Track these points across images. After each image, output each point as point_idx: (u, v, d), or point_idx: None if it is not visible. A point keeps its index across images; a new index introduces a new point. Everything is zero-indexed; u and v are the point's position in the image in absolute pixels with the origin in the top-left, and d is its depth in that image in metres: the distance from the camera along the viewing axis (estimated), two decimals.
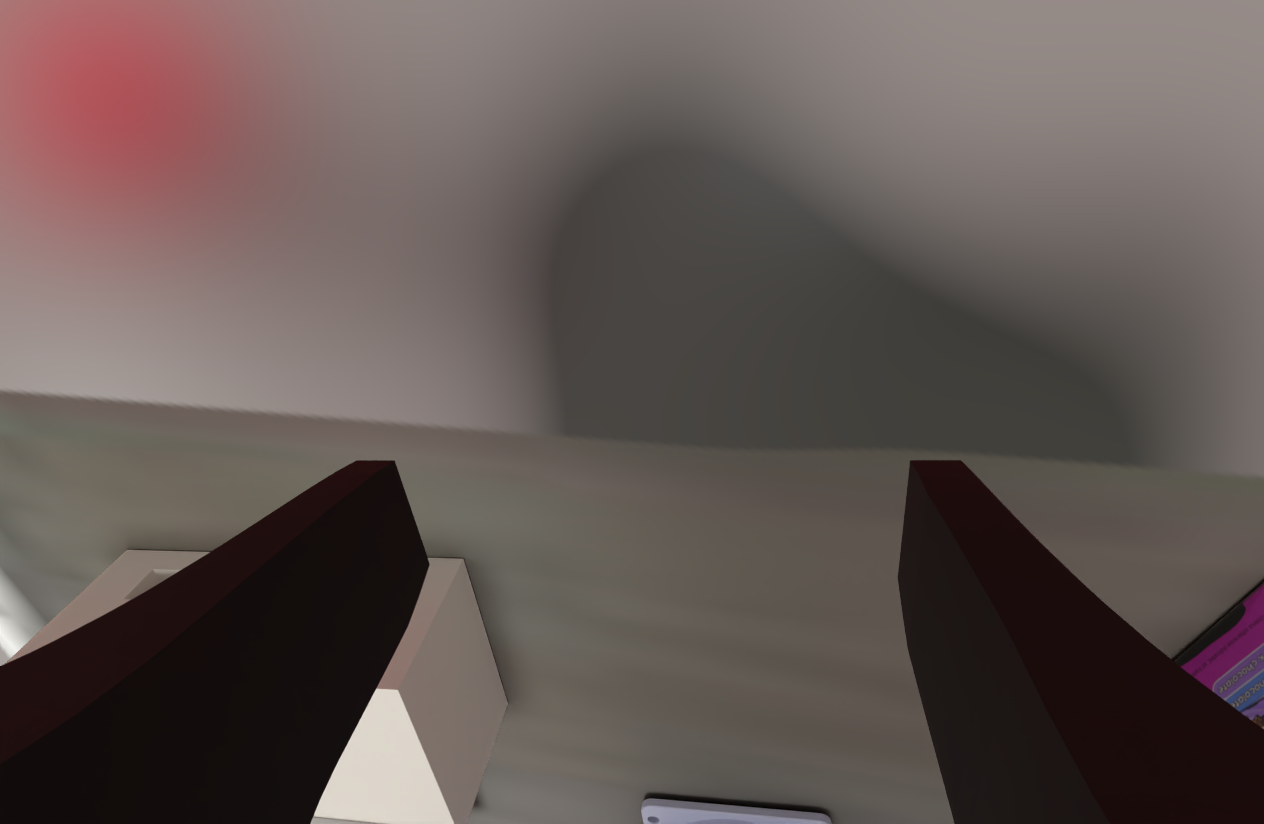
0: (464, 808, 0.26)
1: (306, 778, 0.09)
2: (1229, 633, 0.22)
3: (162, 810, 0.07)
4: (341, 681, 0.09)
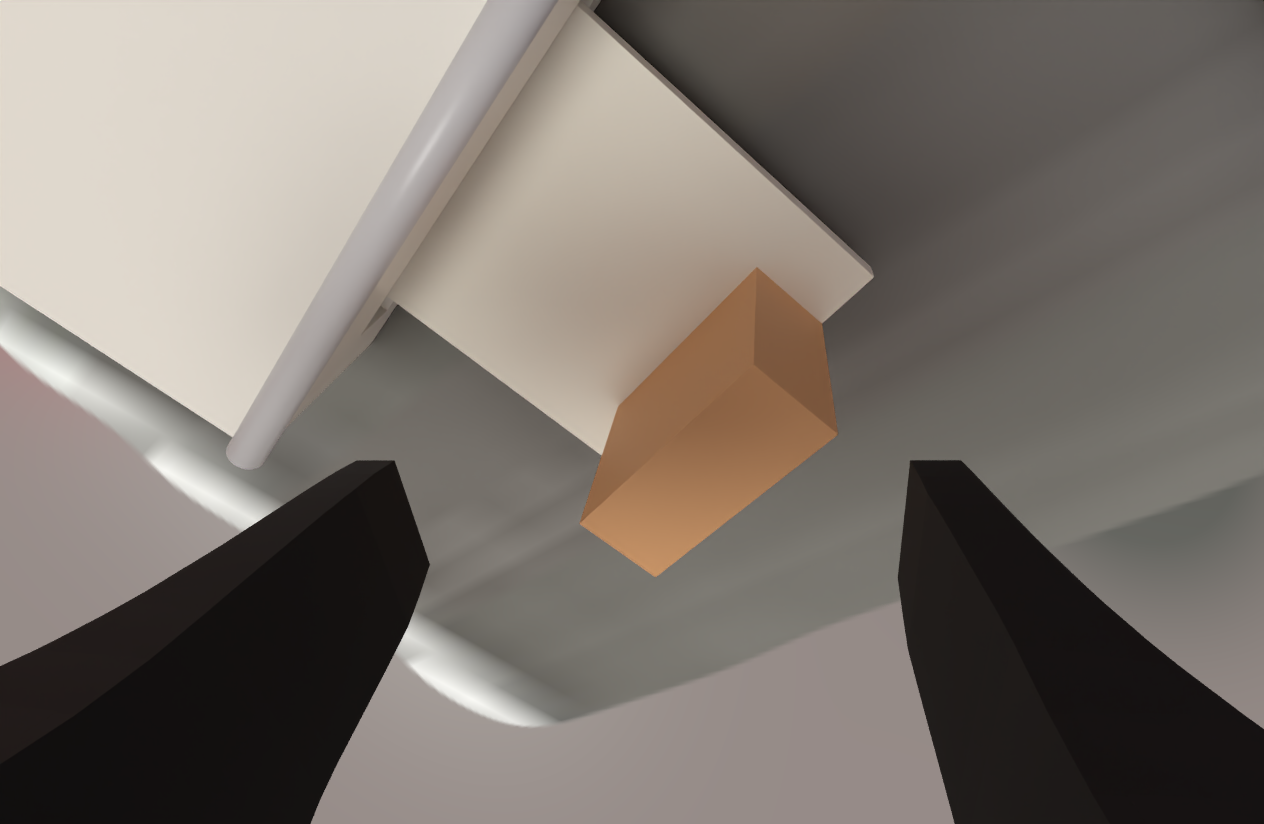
0: None
1: (306, 778, 0.09)
2: None
3: (162, 810, 0.07)
4: (341, 681, 0.09)
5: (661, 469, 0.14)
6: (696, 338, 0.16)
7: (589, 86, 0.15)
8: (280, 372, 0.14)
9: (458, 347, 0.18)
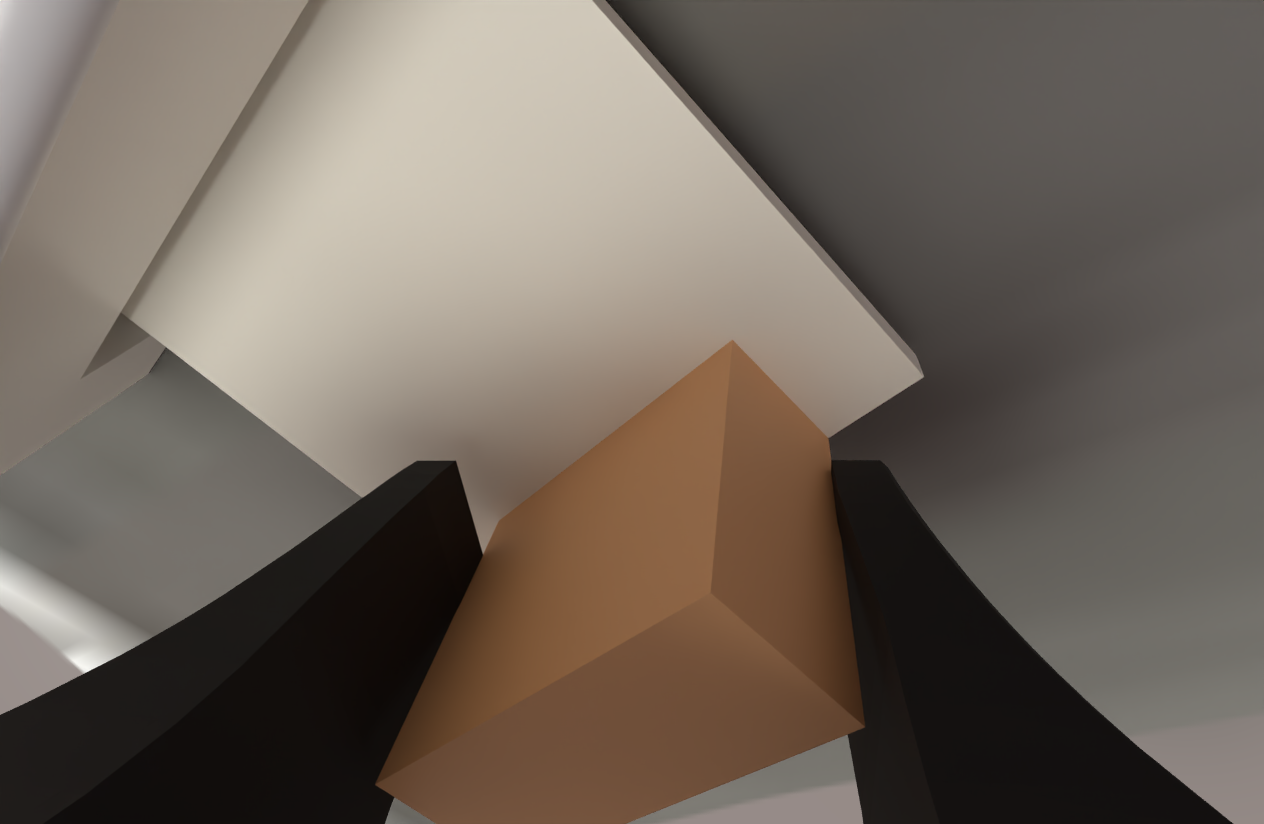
0: None
1: None
2: None
3: (253, 819, 0.07)
4: (409, 685, 0.09)
5: (519, 731, 0.07)
6: (622, 446, 0.10)
7: None
8: None
9: (249, 408, 0.11)
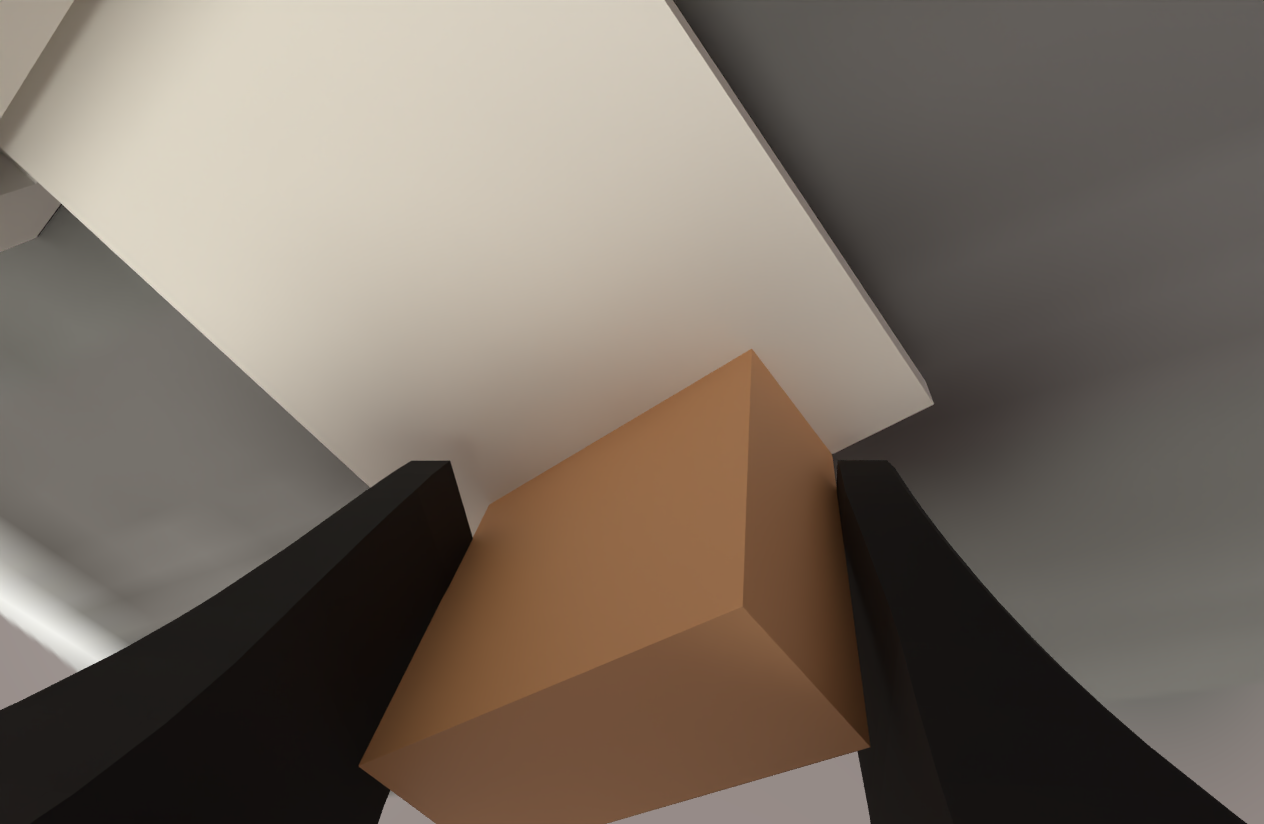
0: None
1: (372, 783, 0.09)
2: None
3: (245, 819, 0.07)
4: None
5: (519, 724, 0.07)
6: (630, 443, 0.10)
7: None
8: None
9: (241, 366, 0.11)
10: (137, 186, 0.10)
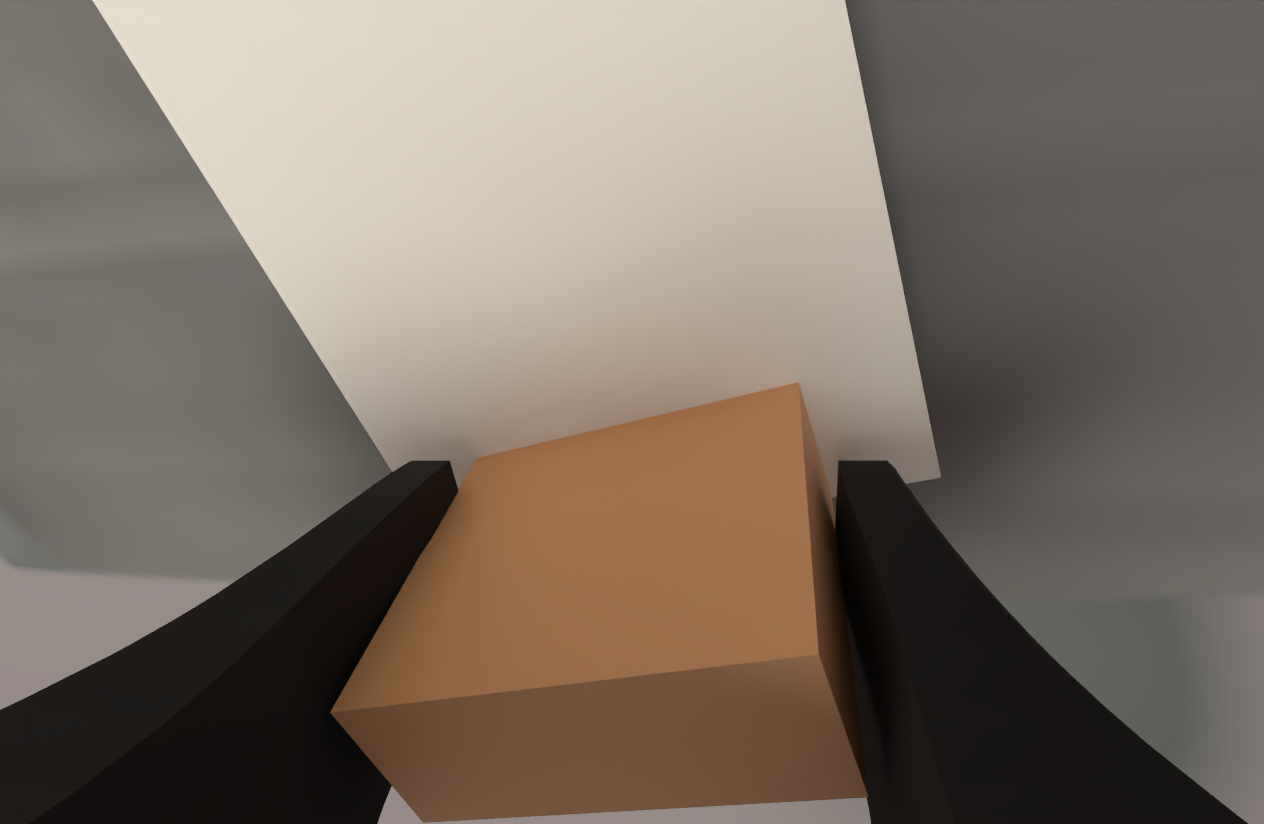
0: None
1: (371, 783, 0.09)
2: None
3: (244, 819, 0.07)
4: None
5: (532, 710, 0.07)
6: (658, 442, 0.10)
7: None
8: None
9: (251, 245, 0.10)
10: (201, 18, 0.08)
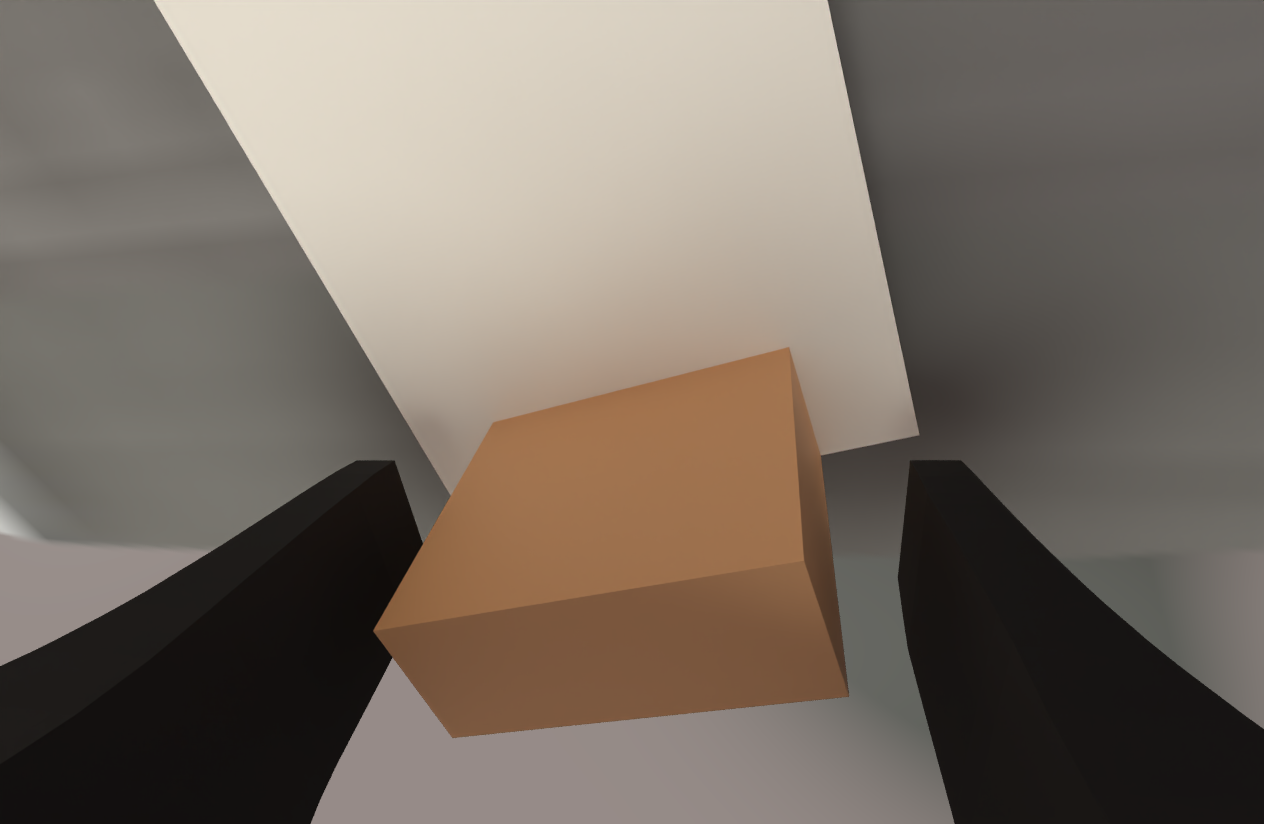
0: None
1: (305, 778, 0.09)
2: None
3: (162, 810, 0.07)
4: (341, 681, 0.09)
5: (554, 623, 0.08)
6: (661, 401, 0.11)
7: None
8: None
9: (291, 223, 0.11)
10: (251, 17, 0.09)
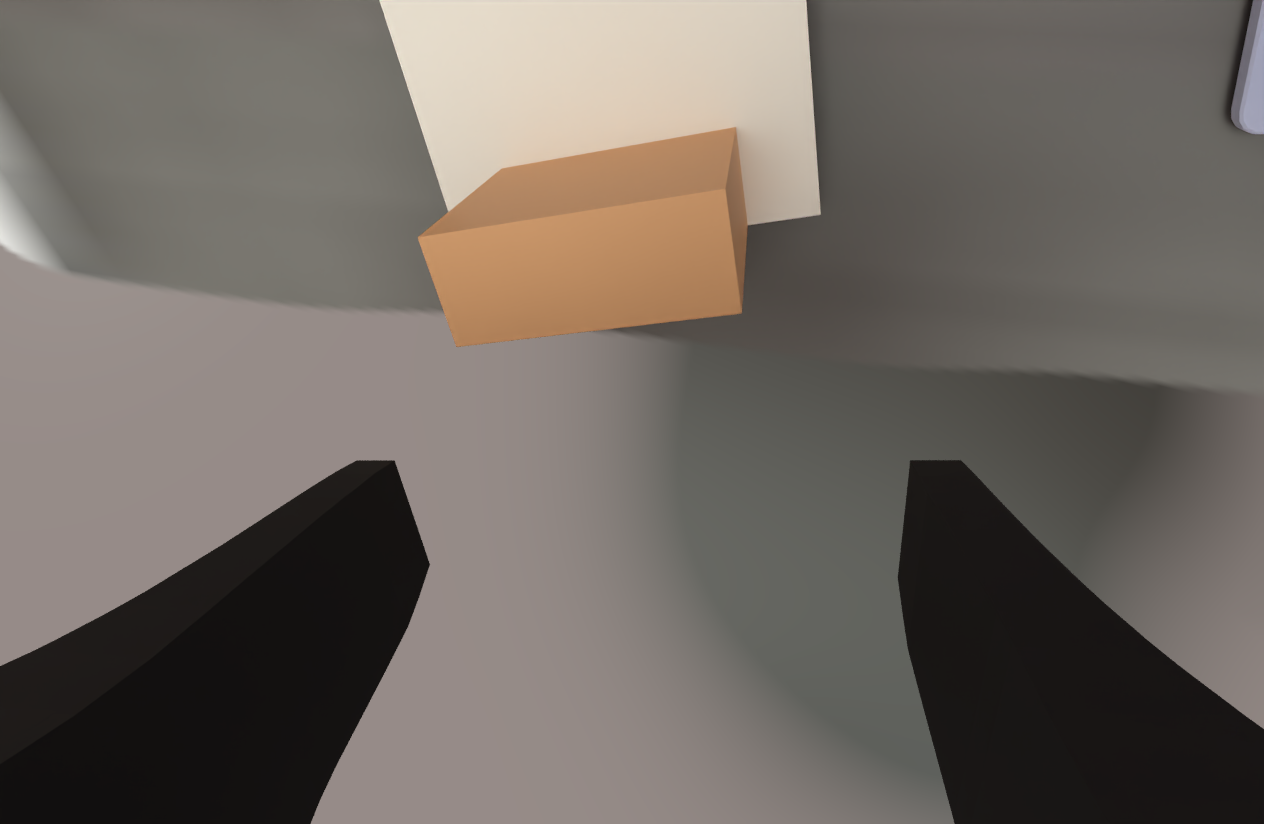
0: None
1: (307, 777, 0.09)
2: None
3: (162, 810, 0.07)
4: (341, 681, 0.09)
5: (551, 235, 0.11)
6: (637, 151, 0.14)
7: None
8: None
9: None
10: None
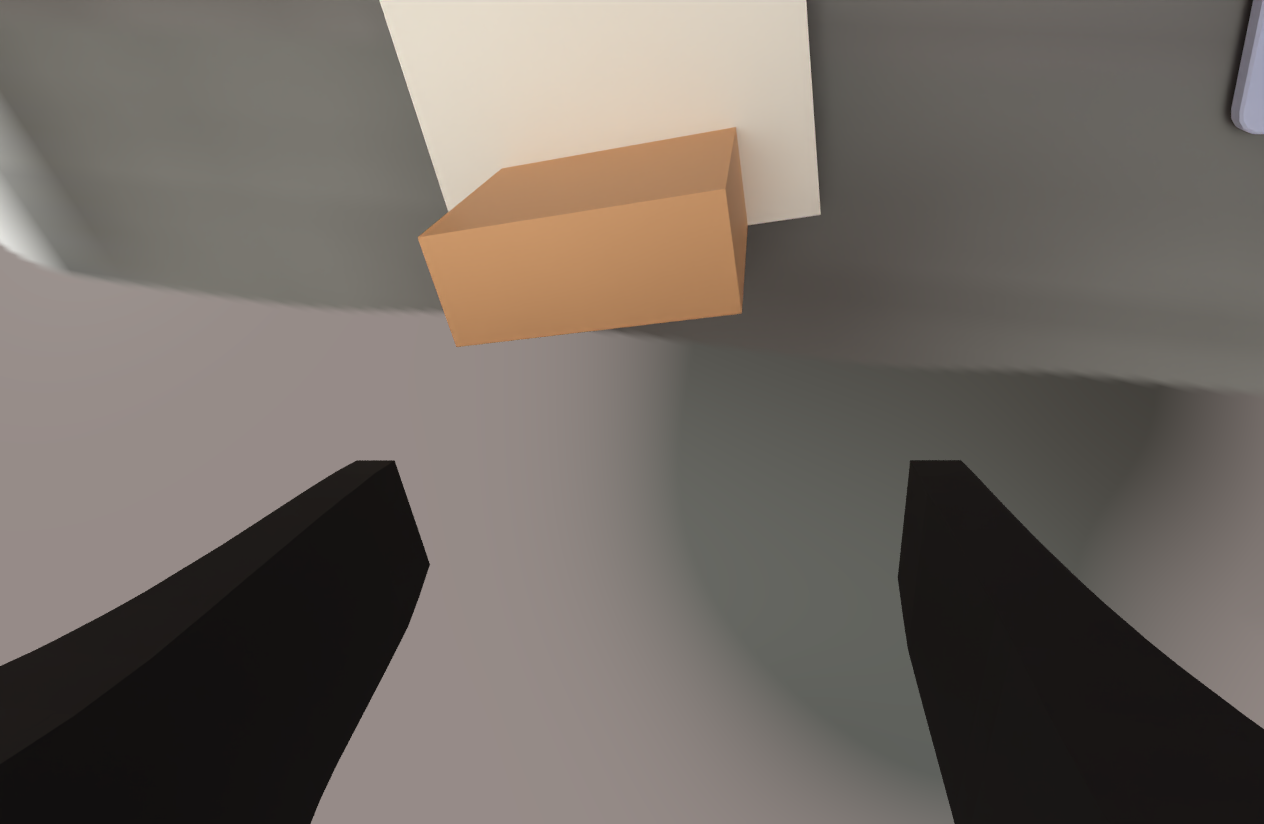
0: None
1: (307, 777, 0.09)
2: None
3: (162, 810, 0.07)
4: (341, 681, 0.09)
5: (551, 235, 0.11)
6: (637, 151, 0.14)
7: None
8: None
9: None
10: None
